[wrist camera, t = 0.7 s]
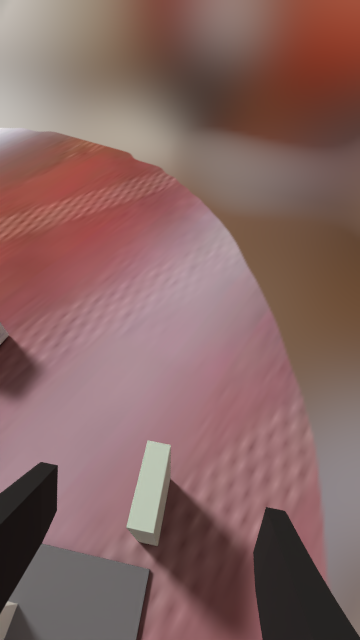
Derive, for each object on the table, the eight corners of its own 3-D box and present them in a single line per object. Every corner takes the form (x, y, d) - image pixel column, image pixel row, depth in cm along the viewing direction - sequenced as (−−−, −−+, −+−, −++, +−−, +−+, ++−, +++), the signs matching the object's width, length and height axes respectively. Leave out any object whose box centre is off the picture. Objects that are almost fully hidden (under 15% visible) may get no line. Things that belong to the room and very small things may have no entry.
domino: (170, 478, 27) (170, 444, 20) (157, 546, 24) (153, 533, 17) (153, 474, 27) (147, 440, 21) (138, 541, 24) (126, 527, 17)
